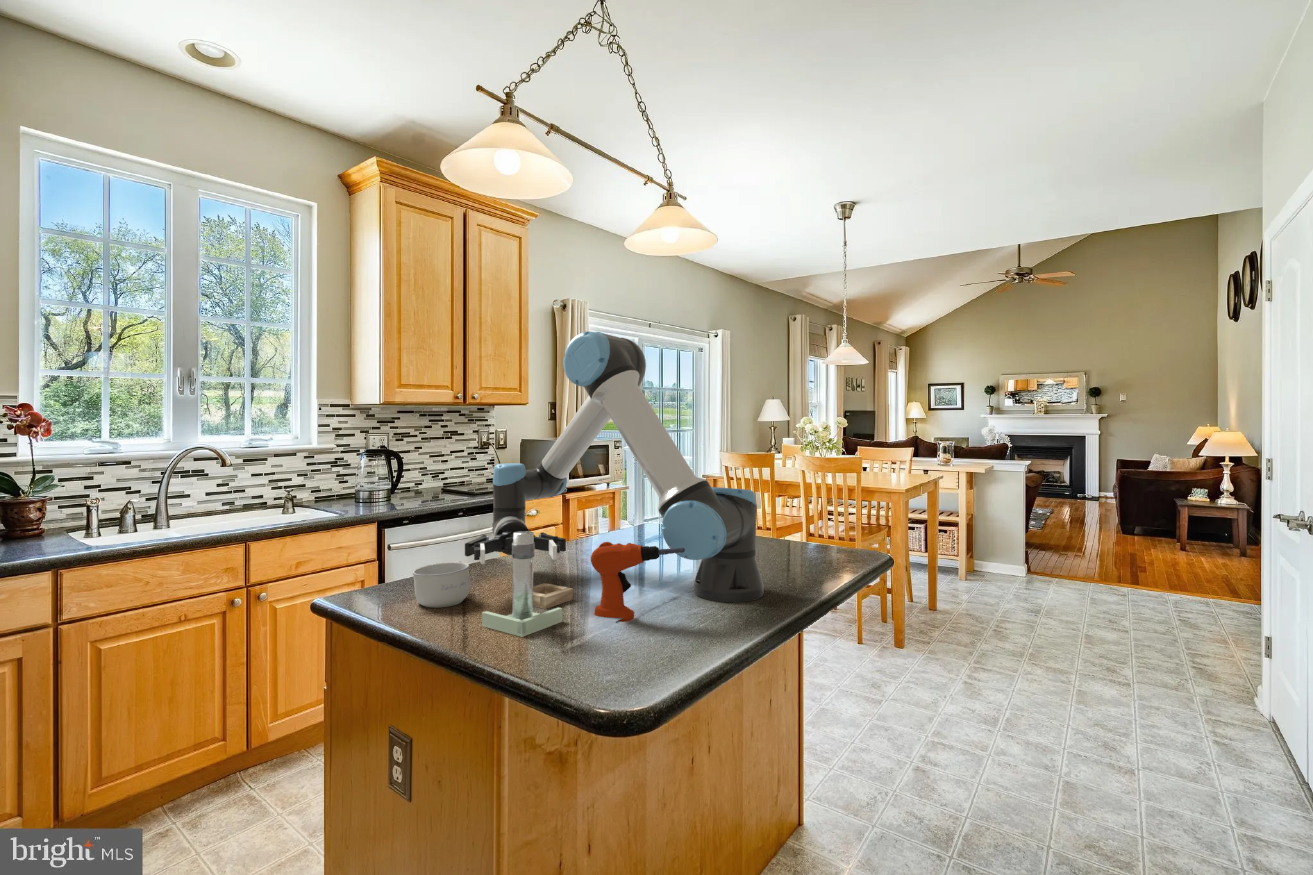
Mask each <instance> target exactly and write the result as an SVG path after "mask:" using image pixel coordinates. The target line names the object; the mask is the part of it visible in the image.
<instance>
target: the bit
mask: <svg viewBox="0 0 1313 875" xmlns="http://www.w3.org/2000/svg"><path fill="white" fill-rule="evenodd" d="M534 535H535V533H534V532H533V531H530V530H529V531H520V532H514V533H513V543H512V555H511V557H512V612H511V614H512V618H516V619H520V620H524V619H527V618H530V617H532V616H533V612H534V606H533V586H534V557H535V555H536V552H535V551H536V549H535V542H534Z"/></svg>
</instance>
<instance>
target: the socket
mask: <svg viewBox="0 0 1313 875" xmlns="http://www.w3.org/2000/svg"><path fill="white" fill-rule="evenodd" d="M572 600H574V588H573V587H572V588H571V587H567V586H562V585H556V584H552V583H547V582H543V583H540V584H537V585H533V607H537V608H541V609H545V610H546V609H549V608H552V607H555V606H557V605H561V604H564V603H566V602H570V601H572Z"/></svg>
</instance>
